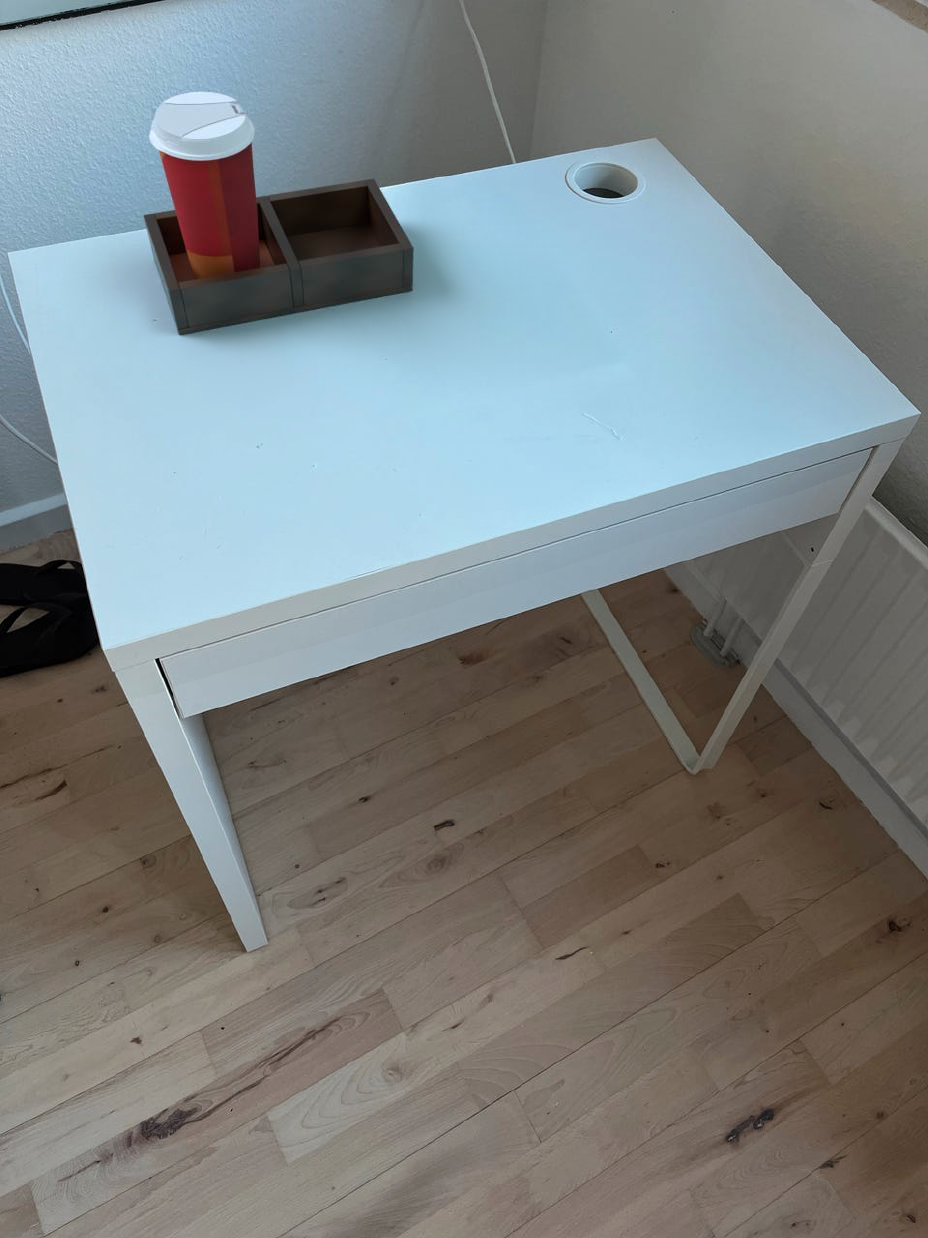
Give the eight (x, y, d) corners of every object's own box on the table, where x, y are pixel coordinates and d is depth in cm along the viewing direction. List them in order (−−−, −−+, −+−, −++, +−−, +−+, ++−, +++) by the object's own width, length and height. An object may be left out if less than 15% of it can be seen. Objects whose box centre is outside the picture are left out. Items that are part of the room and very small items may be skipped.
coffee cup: (256, 242, 90) (234, 80, 78) (285, 293, 86) (266, 131, 74) (170, 260, 88) (133, 97, 75) (195, 314, 84) (160, 150, 71)
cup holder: (178, 335, 83) (168, 291, 79) (153, 258, 89) (143, 214, 85) (412, 290, 89) (413, 247, 85) (374, 221, 94) (374, 177, 91)
